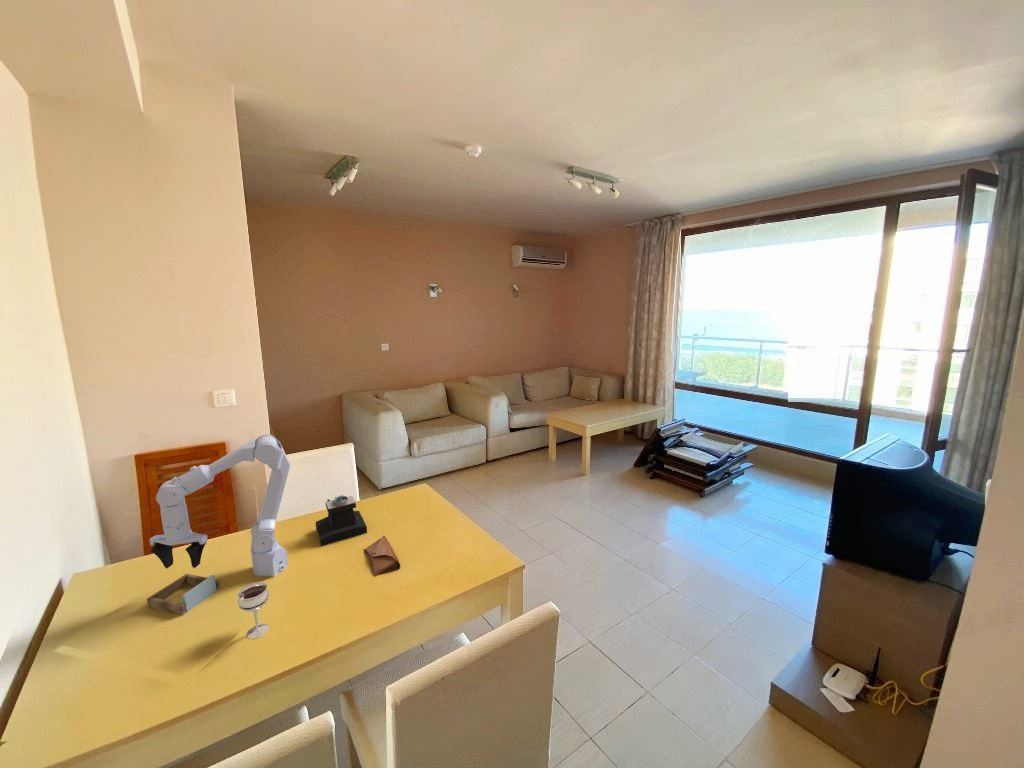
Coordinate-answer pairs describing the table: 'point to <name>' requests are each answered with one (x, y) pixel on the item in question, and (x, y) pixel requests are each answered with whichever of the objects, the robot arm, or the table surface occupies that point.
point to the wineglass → (254, 605)
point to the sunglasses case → (382, 557)
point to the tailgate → (199, 593)
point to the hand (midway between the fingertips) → (183, 565)
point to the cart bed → (170, 606)
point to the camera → (340, 521)
